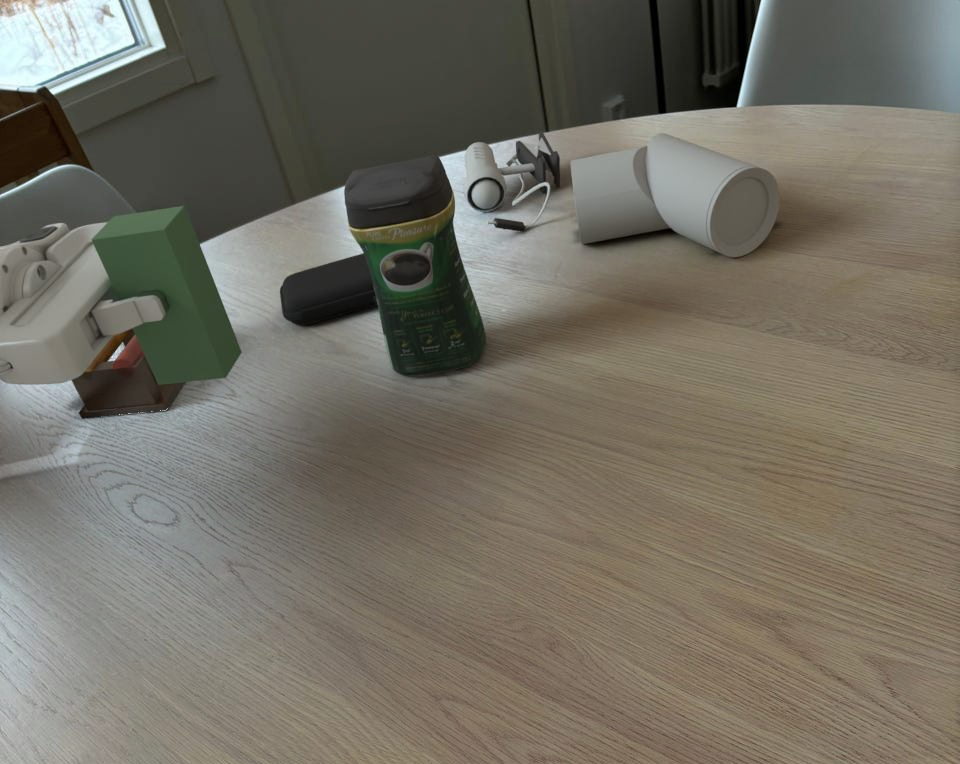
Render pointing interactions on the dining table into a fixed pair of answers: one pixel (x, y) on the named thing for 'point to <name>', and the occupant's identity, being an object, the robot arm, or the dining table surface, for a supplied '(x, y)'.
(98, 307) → the robot arm
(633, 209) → the l-shaped cylinder
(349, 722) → the dining table surface
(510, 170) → the clip-on lamp
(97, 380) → the rod stand
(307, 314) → the carrying case
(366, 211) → the coffee jar
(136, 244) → the green bar
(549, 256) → the dining table surface
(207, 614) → the dining table surface
